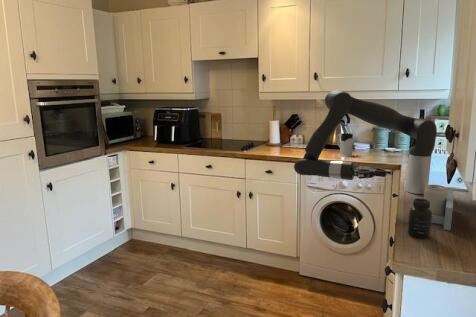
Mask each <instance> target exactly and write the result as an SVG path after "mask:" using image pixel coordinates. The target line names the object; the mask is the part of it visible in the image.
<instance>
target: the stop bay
mask: <svg viewBox="0 0 476 317" xmlns="http://www.w3.org/2000/svg"><path fill="white" fill-rule="evenodd" d="M446 191H447V200H446V209H445V217H444V216H437V215H432V224H438V225H443V230H445V231H451V228H452V227H451V226H452V219H453V212H454V211H453V210H454V190H453V189H446Z"/></svg>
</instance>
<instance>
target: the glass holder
mask: <svg viewBox="0 0 476 317" xmlns="http://www.w3.org/2000/svg"><path fill="white" fill-rule="evenodd" d="M339 136H340V142H339ZM353 136H354V135H353V133H349V132H348V133H345V132H344V133H341V134H337V136H336V142H337V146H338V147H339V149H340V150H339V156H340V157H343V158H344V157H345V158H349V157H350V158H351V157H353V141H354V140H353Z"/></svg>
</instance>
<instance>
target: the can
mask: <svg viewBox="0 0 476 317" xmlns="http://www.w3.org/2000/svg"><path fill="white" fill-rule="evenodd" d="M423 199H426V200H429V201H430V208H429V209H430V210H431V211H432V215H437V216H444V217H445V209H446V200H447V188H446V186H444V185H441V184H428V185H427V188H425V191H424V194H423Z"/></svg>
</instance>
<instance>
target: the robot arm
mask: <svg viewBox="0 0 476 317" xmlns="http://www.w3.org/2000/svg"><path fill="white" fill-rule="evenodd" d="M324 103H325V106H326V107H327V109H328V113H327V115H326V117H325V119H323V121H322V123H321V124H320V125H319V126H318V127H317V129H316V130H315V131H314V132H313V133H312V134H311V136H310V138H309V140H308V142H307V144H306V145H305V148H304V152H305V153H304V155H303V158H299V159H298V160H296V161H295V162H294V164H293V168H294V172H296V174H298V175H300V176H317V177H321V178H332V179H335V180H344V181H345V180H346V181H353V180H354V178H355V177H357V178H358V180H359V179H373V178H375V177H381V178H385V177H386V176H387V171H386V170H379V169H377V168H376V167H371V166H368V165H364V166H362V165H358V166H356V163H355V162H354V161H345V160H343V161H342V160H319V159H320V155H321V154H322V152H323V150H324V149H325V146H326V145H327V143H328V141H329V140H330V137H331V136H332V134H333V133H334V132H335V130H336V129H337V127H338V125H339V124H340V122H341V121H342V120H343V119H344V117H346V115H350V116H353V117H356V118H358V119H359V120H361V121H363V122H366V123H368V124H370V125H373V126H375V127H379V128H383V129H385V130H386V129H387V130H391V131H392V130H393V131H397V132H399V133H403V134H405V135H407V136H408V137H410V138H413V139H415V144H414V145H413V146H411V147H410V148H409V150H408V159H407V160H408V162H407V172H406V182H405V191H406V193H407V192H408V193H411V194H417V195H424V191H425V188H427V185H430V175H431V174H430V173H431V163H432V153H433V151H434V149H435V147H436V140H437V134H438V133H437V132H438V131H437V130H438V129H437V125H436V122H434V121H433V120H431V119H430V120H429V119H424V118H415V117H413V116H412V117H411V116H406V115H404V114H402V113H400V112H398V111H397V110H395V109H393V108H391V107H389V106H386V105H384V104H380V103H377V102H373V101H370V100H363V99H358V98H356V97H353V96H351V94H350V93H348V92H347V91H343V90H340V89H335V90H332V91H330V92H328V93H327V94H326V95H325V98H324Z"/></svg>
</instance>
